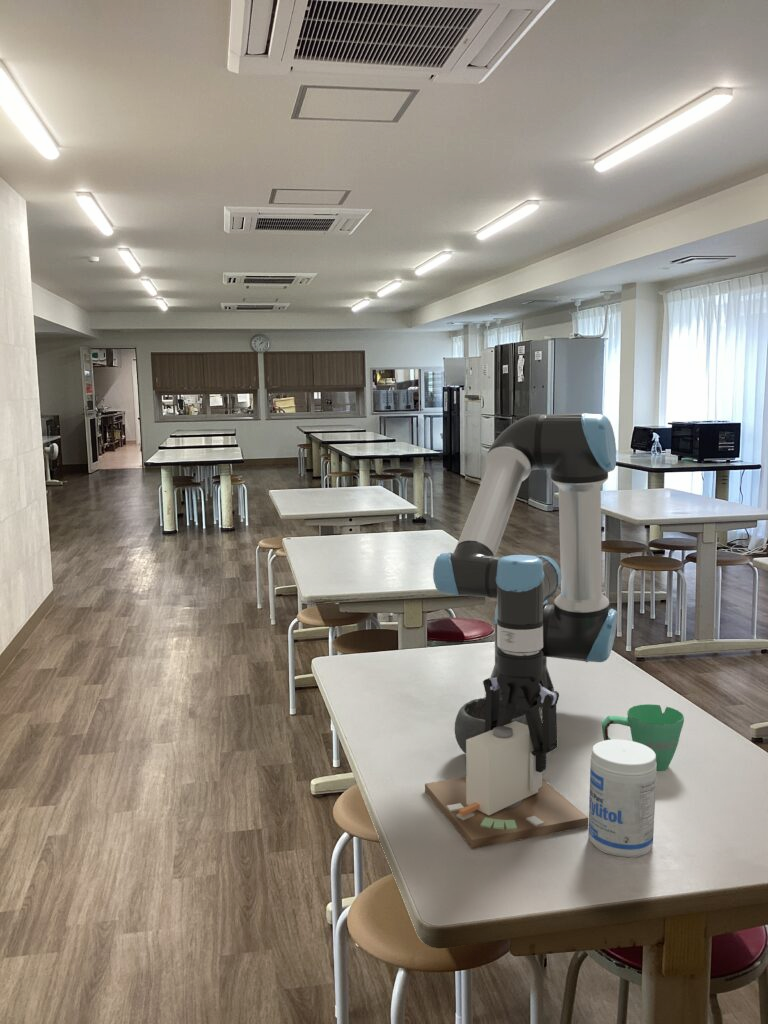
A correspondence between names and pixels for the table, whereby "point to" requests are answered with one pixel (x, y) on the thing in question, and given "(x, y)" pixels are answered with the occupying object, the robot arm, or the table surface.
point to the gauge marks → (497, 823)
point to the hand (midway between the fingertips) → (520, 782)
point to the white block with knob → (498, 768)
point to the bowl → (478, 720)
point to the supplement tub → (622, 797)
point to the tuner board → (507, 814)
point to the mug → (651, 730)
